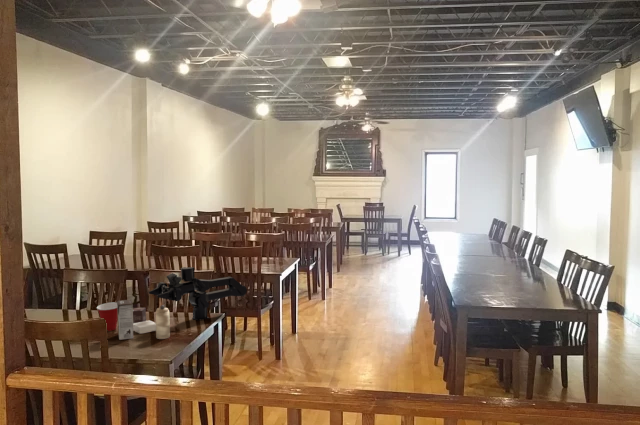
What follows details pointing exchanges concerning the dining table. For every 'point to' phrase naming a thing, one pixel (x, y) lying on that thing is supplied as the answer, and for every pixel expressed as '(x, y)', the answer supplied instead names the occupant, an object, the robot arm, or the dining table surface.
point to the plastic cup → (109, 314)
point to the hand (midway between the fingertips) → (153, 294)
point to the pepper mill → (162, 323)
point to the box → (139, 315)
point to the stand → (144, 327)
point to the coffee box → (125, 319)
